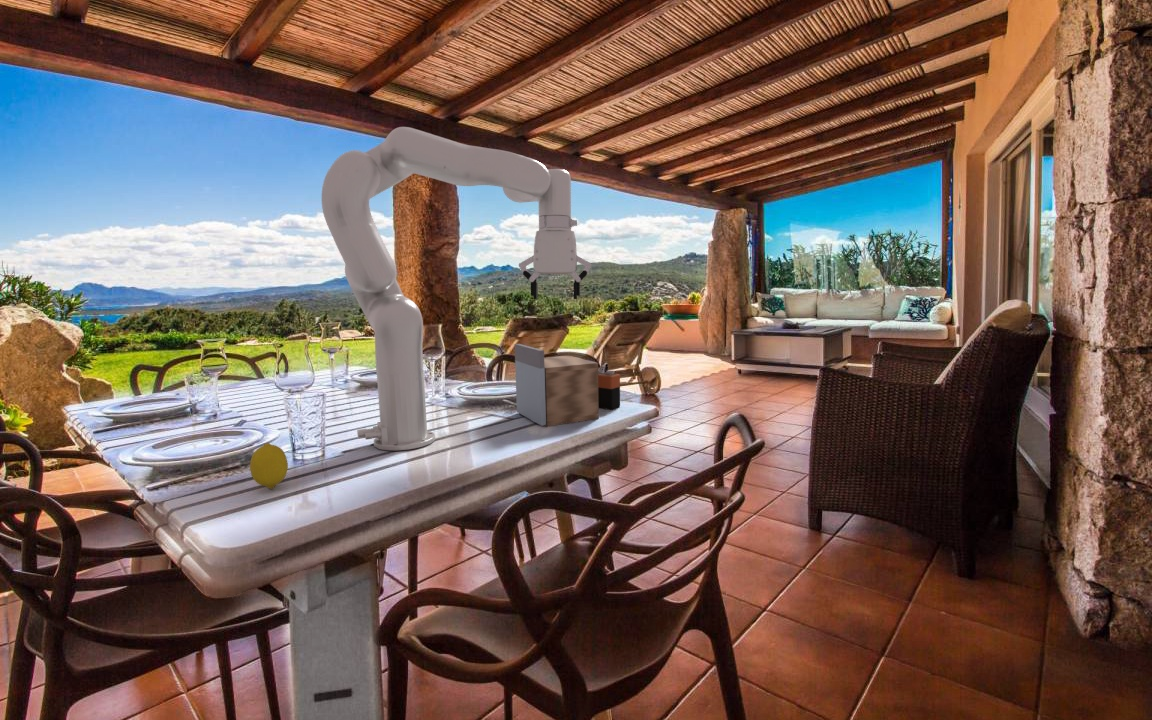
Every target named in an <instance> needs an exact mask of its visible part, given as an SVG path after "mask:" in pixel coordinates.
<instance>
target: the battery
mask: <svg viewBox="0 0 1152 720" xmlns="http://www.w3.org/2000/svg"><path fill="white" fill-rule="evenodd" d="M620 406H621V374H620V373H615V370H606V372H605V371H604V370H603V369H598V407H599V409H605V410H614V409H618V408H620Z"/></svg>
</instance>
